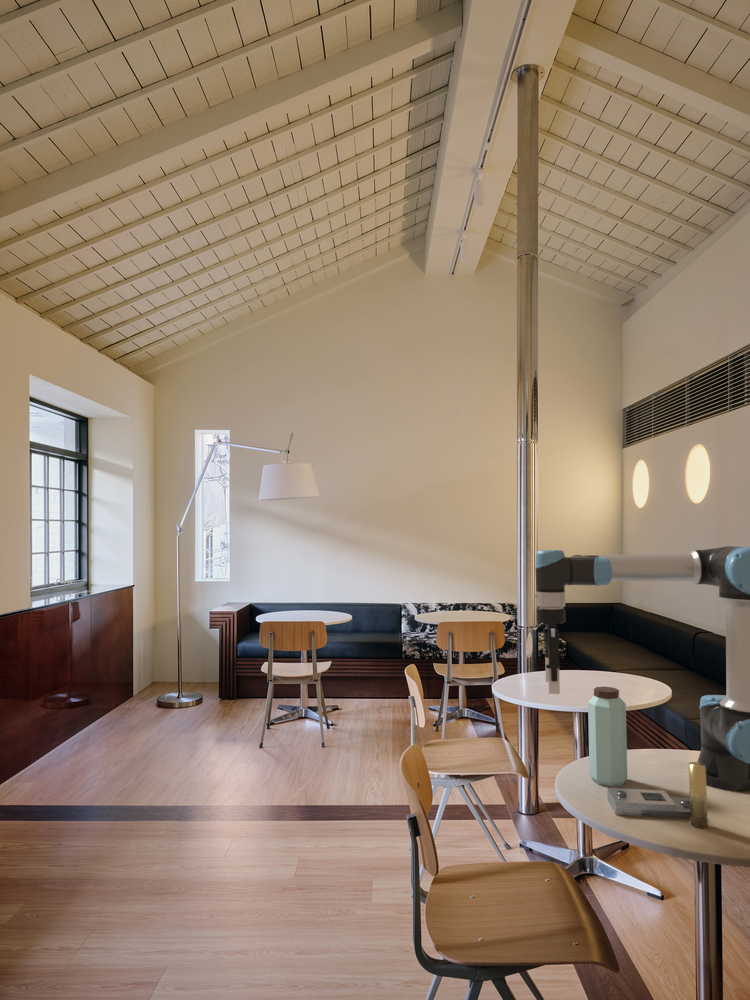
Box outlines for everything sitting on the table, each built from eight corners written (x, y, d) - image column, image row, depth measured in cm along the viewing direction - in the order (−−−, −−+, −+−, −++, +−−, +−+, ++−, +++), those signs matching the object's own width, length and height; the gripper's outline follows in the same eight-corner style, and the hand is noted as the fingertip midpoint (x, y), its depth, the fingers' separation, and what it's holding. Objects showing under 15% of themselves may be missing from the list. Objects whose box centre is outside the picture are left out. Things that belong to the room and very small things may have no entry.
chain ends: (689, 803, 166) (689, 788, 166) (702, 819, 157) (702, 803, 157) (607, 799, 169) (607, 785, 169) (615, 814, 160) (615, 799, 160)
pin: (704, 822, 155) (702, 762, 156) (709, 829, 152) (708, 767, 153) (688, 821, 156) (686, 761, 157) (693, 828, 152) (691, 766, 153)
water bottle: (630, 789, 176) (628, 694, 177) (591, 786, 178) (589, 692, 179) (624, 775, 186) (622, 685, 187) (587, 773, 188) (585, 684, 189)
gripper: (534, 602, 189) (536, 676, 188) (538, 612, 165) (540, 698, 164) (561, 602, 188) (563, 677, 187) (569, 613, 163) (571, 699, 162)
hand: (552, 687), depth 175 cm, fingers open, 13 cm apart
